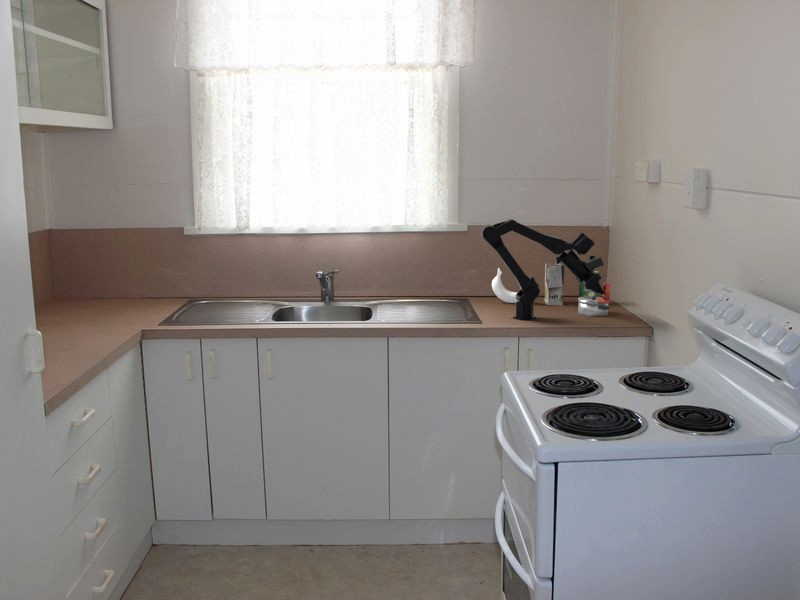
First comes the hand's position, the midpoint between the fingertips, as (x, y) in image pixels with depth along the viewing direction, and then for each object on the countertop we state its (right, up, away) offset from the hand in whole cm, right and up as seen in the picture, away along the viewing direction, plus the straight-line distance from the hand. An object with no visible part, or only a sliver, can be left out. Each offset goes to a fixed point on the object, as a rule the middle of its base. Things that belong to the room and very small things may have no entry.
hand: (603, 293), depth 300 cm
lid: (-1, -3, +8) cm, 8 cm away
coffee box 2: (+1, -4, +30) cm, 31 cm away
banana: (-28, -4, +31) cm, 42 cm away
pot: (-2, -7, +10) cm, 13 cm away
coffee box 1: (-13, -4, +31) cm, 33 cm away
